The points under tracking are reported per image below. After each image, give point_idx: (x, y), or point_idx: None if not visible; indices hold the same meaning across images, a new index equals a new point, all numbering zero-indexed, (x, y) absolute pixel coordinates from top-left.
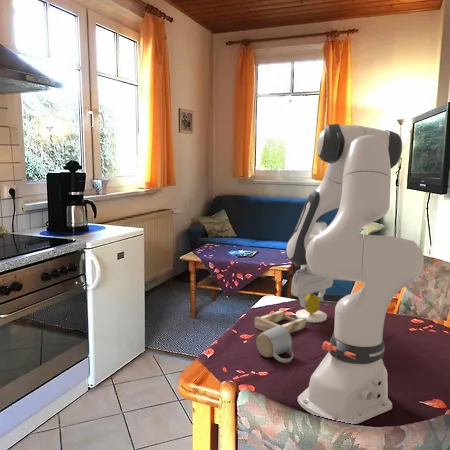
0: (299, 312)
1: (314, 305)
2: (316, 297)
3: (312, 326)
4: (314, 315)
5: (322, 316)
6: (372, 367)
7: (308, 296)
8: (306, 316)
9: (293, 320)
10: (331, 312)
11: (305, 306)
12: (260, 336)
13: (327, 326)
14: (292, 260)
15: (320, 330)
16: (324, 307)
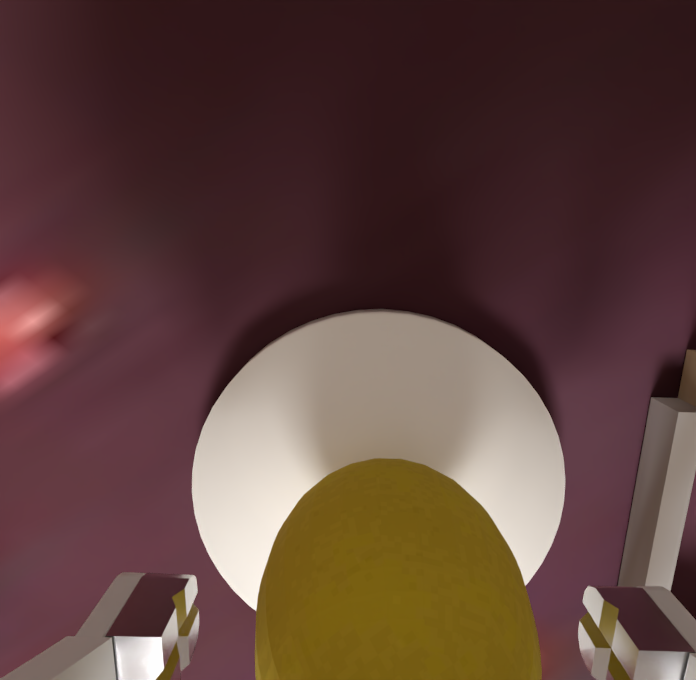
0: None
1: (471, 517)
2: (401, 646)
3: (614, 309)
4: (379, 455)
5: (332, 372)
6: None
7: None
8: (478, 496)
9: (671, 525)
10: (64, 415)
11: (619, 587)
12: None
13: (490, 186)
14: None
15: (664, 170)
16: (4, 553)
